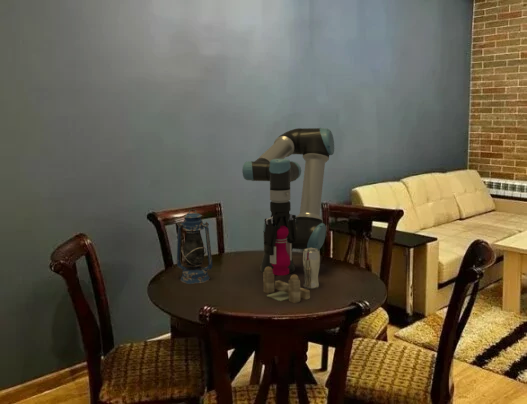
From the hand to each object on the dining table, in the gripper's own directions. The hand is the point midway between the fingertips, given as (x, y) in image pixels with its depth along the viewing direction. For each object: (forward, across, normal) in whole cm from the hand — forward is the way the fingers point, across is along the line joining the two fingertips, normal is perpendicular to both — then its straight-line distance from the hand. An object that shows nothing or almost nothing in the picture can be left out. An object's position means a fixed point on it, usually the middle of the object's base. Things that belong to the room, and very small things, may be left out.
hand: (280, 261), depth 206 cm
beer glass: (+14, +17, +1) cm, 22 cm away
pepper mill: (+5, 0, 0) cm, 5 cm away
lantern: (+14, -12, +41) cm, 45 cm away
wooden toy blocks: (+14, +1, 0) cm, 14 cm away
